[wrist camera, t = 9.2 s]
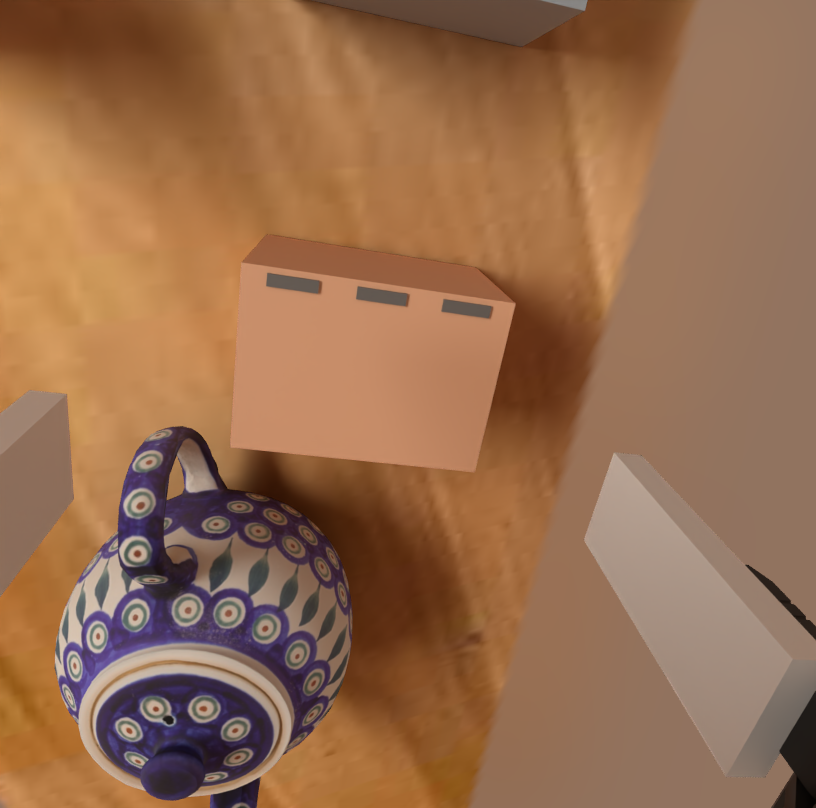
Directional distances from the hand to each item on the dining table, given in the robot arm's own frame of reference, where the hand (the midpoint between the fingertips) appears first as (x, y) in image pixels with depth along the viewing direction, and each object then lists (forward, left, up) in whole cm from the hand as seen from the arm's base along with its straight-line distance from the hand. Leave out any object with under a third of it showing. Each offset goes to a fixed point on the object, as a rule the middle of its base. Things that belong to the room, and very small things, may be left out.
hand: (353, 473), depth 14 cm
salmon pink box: (+1, +1, -19) cm, 19 cm away
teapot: (+18, -5, -19) cm, 27 cm away
